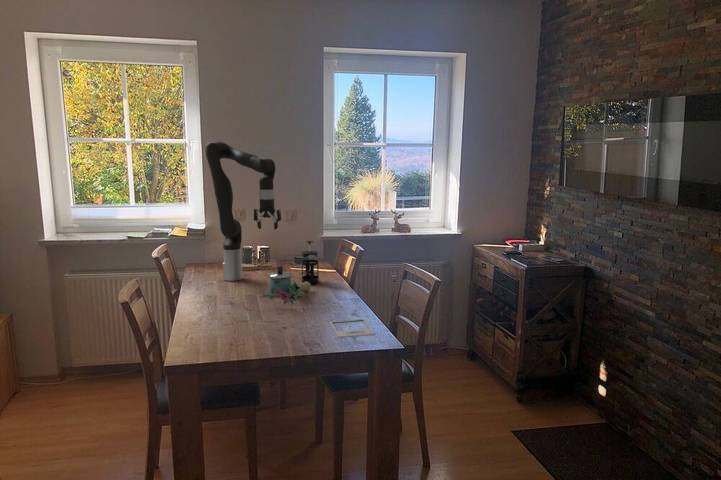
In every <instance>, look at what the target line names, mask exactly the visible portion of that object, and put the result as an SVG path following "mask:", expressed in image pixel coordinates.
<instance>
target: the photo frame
mask: <svg viewBox="0 0 721 480" xmlns="http://www.w3.org/2000/svg"><path fill="white" fill-rule="evenodd" d="M357 321H358V322H359V321H363V323H364V324H365V326H366V327H367V329H365V328H364V329H356V330H342V331H341V330H340V331H338V330H337V329H336V327H335V325H334V323H344V322H346V323H347V322H357ZM329 324H330V325H331V327H332V329H333V331H334V334H335V335H336V337H337V338H338V339H340V338H349V337H361V336H363V337H365V336H372V335H374V336H375V332H374V331H373V329H372V328H371V327H370V325H369V324H368V322H367V321H366V320H365V319H364V318H363V319H361V318H360V319H349V320H348V319H347V320H337V321H336V320H334V321H330V323H329Z"/></svg>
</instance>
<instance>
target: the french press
mask: <svg viewBox="0 0 721 480" xmlns="http://www.w3.org/2000/svg"><path fill="white" fill-rule="evenodd" d="M305 243H307V244H308V247H309V250H303V251H301V252H300V253H301V255H302V258H308V257H310V256H315V257H316V258H317V257H318V254H319V251H316V250H311V243H314V241H313V240H306V241H305ZM304 266H305V270H304V268H303V267H304ZM314 266H316V269H315V267H314ZM319 273H320V272H319V260H317V259H310V258H309V259H305V260H301V283H304V282H309V283H310V284H311V286H315V285H318V284H320V281H319V279H320V278H319Z"/></svg>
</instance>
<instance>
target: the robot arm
mask: <svg viewBox="0 0 721 480" xmlns="http://www.w3.org/2000/svg"><path fill="white" fill-rule="evenodd" d="M204 151H205V156H206V160H207V163H208V167H209V171H210V175H211V178H212V184H213V190H214V195H215V199H216V204H217V209H218V215H219V227H220V233H221V234H222V235H223V236H224V239H225V240H224V242H223V244H222V245H223V247H222V248H223V262H222V275H223V281H228V282H236V281H240V280H242V279H243V272H242V271H243V270H242V267H243V266H242V253H241V252H242V250H241V249H242V246H241V244H242V233H243V232H242V225H241V223H240V221H239V220H237V219H235V218H234V214H233V201H234V200H233V199H234V194H233V193H234V192H233V188H232V182H231V180H230V179H229V177H228V176H227V174H226V173H225V172H224V169H223V167H222V163H221V160H222V159H228V160H232V161H234V162H236V163H237V164H238V165H240V166H242V167H246V168H249V169H251V170H253V171H255V172H257V173H261V174H263V176H262V177H261V178H260V179H259V185H258V186H259V192H258V193H259V194H258V195H259V196H258V197H259V198H258V199H259V200H258V201H259V208H255V209H253V221H254V222H255V221H256V222H257V223H256V224H257V228H258V229H259V230H261V229H262V220H263V219H264V218H268V219H270V218H271V220H272V221H273V229H274V230H277V229H278V228H279V222H280V221H282V211H281V209H280V208H279V209H276V208H275V192H274V179H275V173H276V164H275V162H274V160H273V159H271V158H259V157H258V156H256V155H254V154H252V153H248V152H245V151H242V150H240V149H237V148H234V147H232V146H231V145H230V144H227V143H225V142H223V141H210V142H208V143H206V146H205V149H204ZM258 214H260V215H258ZM276 215H277V216H276Z"/></svg>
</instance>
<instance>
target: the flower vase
mask: <svg viewBox="0 0 721 480" xmlns="http://www.w3.org/2000/svg"><path fill="white" fill-rule="evenodd" d="M282 286H283V284H281V285H279V283H277V287H282ZM288 287H289V289H290V290H291V291H290V292H293V293H294V294H293V295H294V296H293V298H294V300H295V301H297V299H298V296H299V297H303V296H302V293H300V292H308V291H310V290H311V288H312V285H311V284H310V283H309V282H304V283H302V282H300V283H298V282H297V281H293V282H292V283H291V284H289V286H288ZM281 291H283V290H280V288H279V289H278V288H277V289H276V288H275V291H274V292H272V293H271V294H276V295H278V294H280V297H279V298H280V299H281V300H282V302H283V303H282V305H286V304H288V301H289V302H290V303H291V304H292V305H293V304H294V300H293V299H292V298H291V297H290V296H288V295H289V294H288V293H286V294H285V292H281ZM290 292H289V293H290ZM290 294H291V293H290ZM289 297H290V298H289ZM274 298H275V297H274V296H273V295H272V296H270V297H269V298H268V299H269V300H273V299H274Z"/></svg>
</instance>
